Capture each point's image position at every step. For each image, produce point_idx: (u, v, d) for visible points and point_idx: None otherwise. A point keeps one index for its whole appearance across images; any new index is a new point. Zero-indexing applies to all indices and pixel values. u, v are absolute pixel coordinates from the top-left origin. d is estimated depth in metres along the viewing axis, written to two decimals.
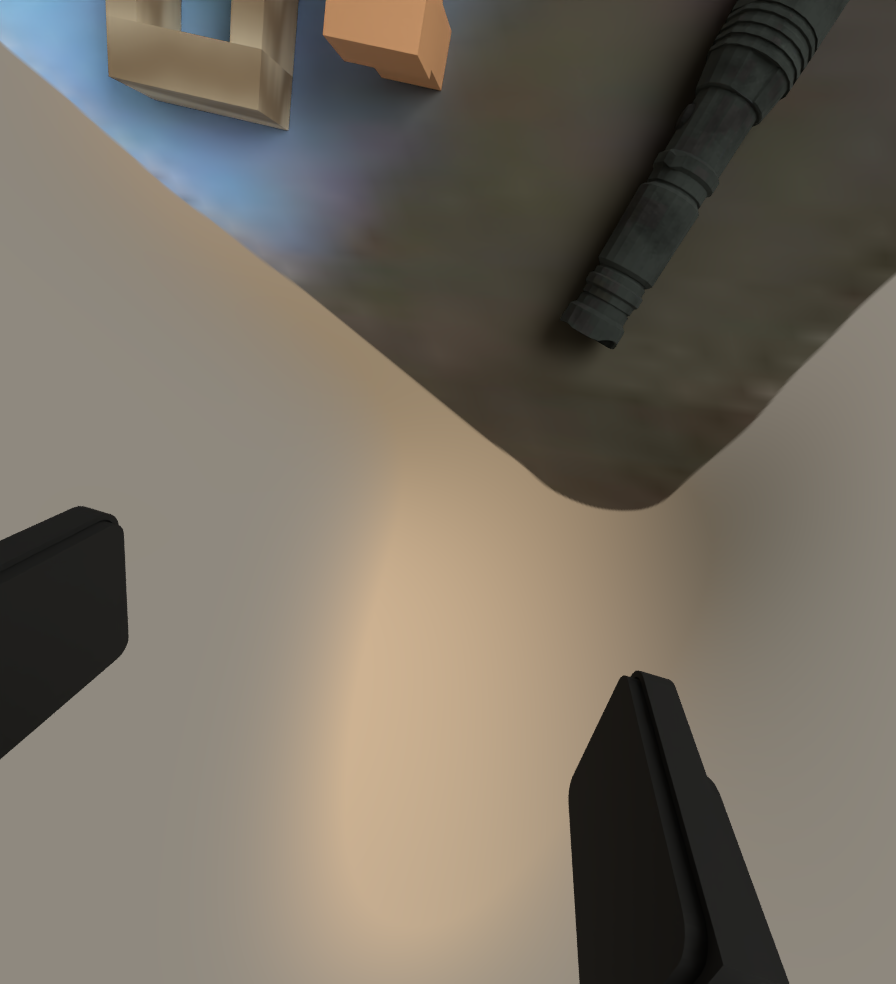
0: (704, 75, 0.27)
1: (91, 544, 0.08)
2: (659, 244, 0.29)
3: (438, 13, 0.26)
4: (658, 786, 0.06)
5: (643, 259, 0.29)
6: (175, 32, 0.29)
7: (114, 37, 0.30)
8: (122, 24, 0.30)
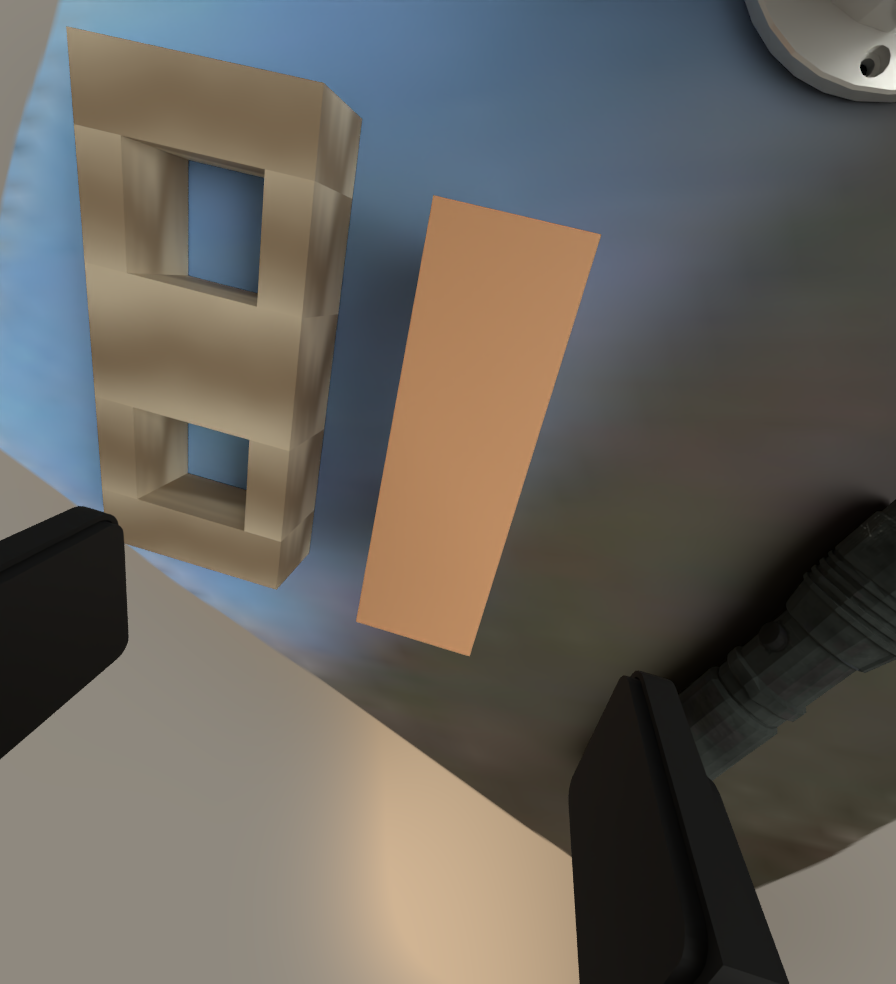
0: (802, 611, 0.23)
1: (91, 544, 0.08)
2: (730, 761, 0.25)
3: None
4: (658, 786, 0.06)
5: (709, 771, 0.25)
6: (181, 514, 0.25)
7: (112, 508, 0.26)
8: (120, 499, 0.26)
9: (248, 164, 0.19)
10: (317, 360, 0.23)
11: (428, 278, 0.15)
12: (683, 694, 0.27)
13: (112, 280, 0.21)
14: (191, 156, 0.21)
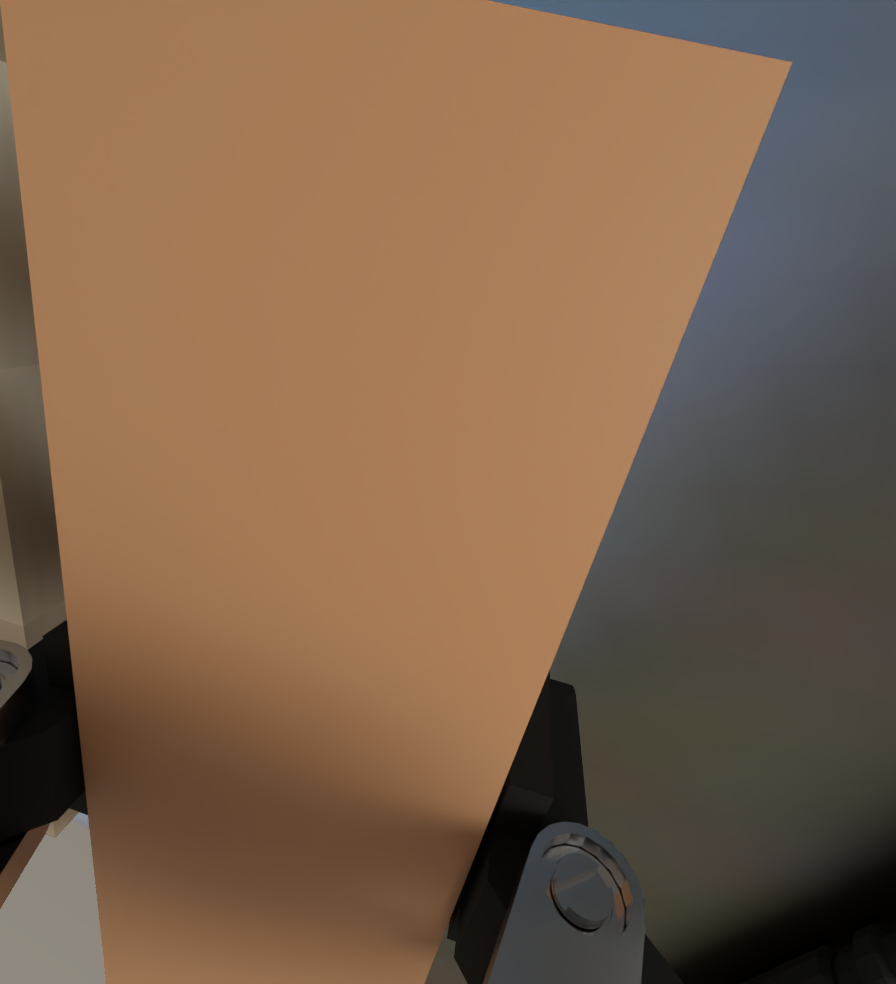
0: None
1: None
2: None
3: None
4: None
5: None
6: None
7: None
8: None
9: None
10: None
11: (65, 284, 0.04)
12: None
13: None
14: None
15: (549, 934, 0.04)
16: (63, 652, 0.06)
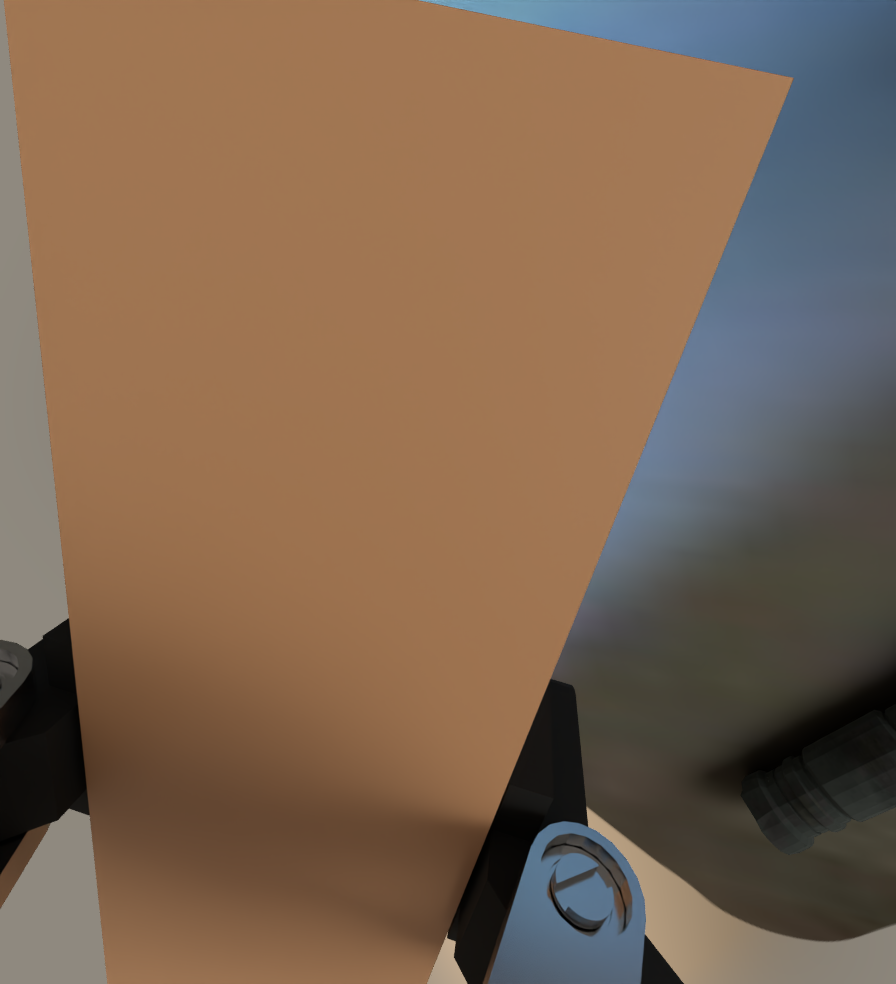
0: None
1: None
2: (893, 805, 0.26)
3: None
4: None
5: (870, 812, 0.26)
6: None
7: None
8: None
9: None
10: None
11: (69, 294, 0.04)
12: (842, 734, 0.27)
13: None
14: None
15: (549, 934, 0.04)
16: (63, 652, 0.06)
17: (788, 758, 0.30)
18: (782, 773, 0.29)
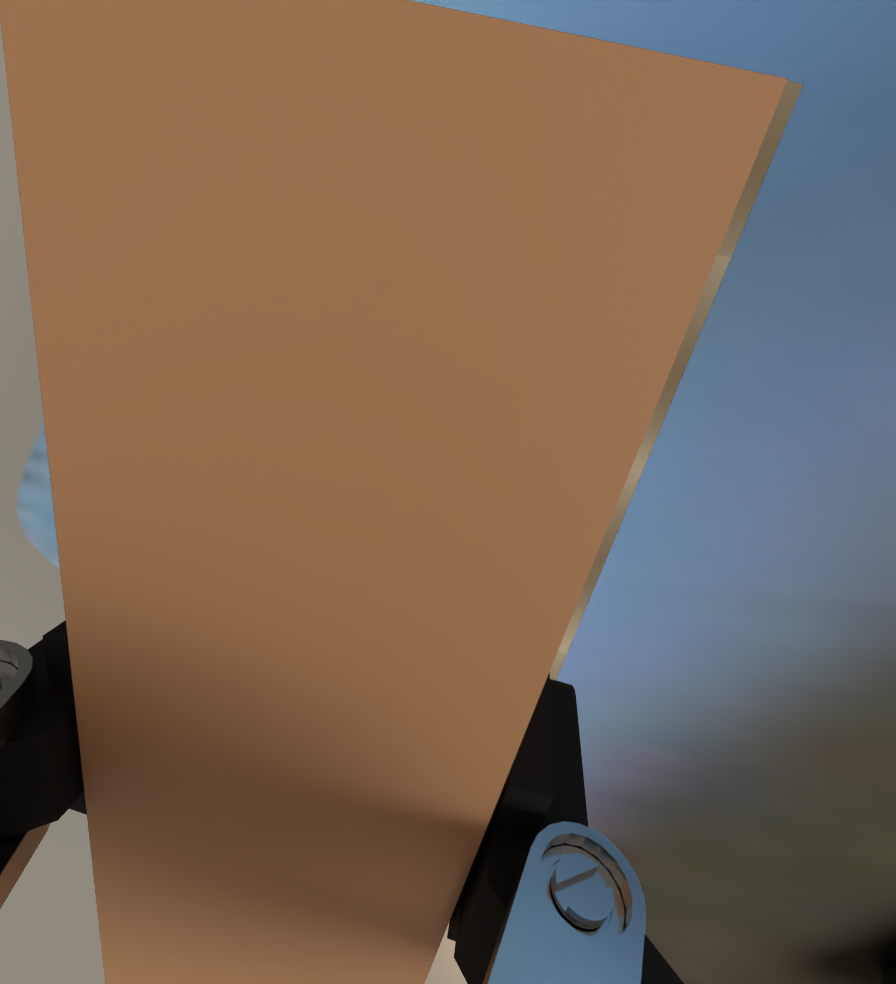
0: None
1: None
2: None
3: None
4: None
5: None
6: None
7: None
8: None
9: None
10: None
11: (65, 295, 0.04)
12: None
13: None
14: None
15: (549, 934, 0.04)
16: (63, 652, 0.06)
17: None
18: None
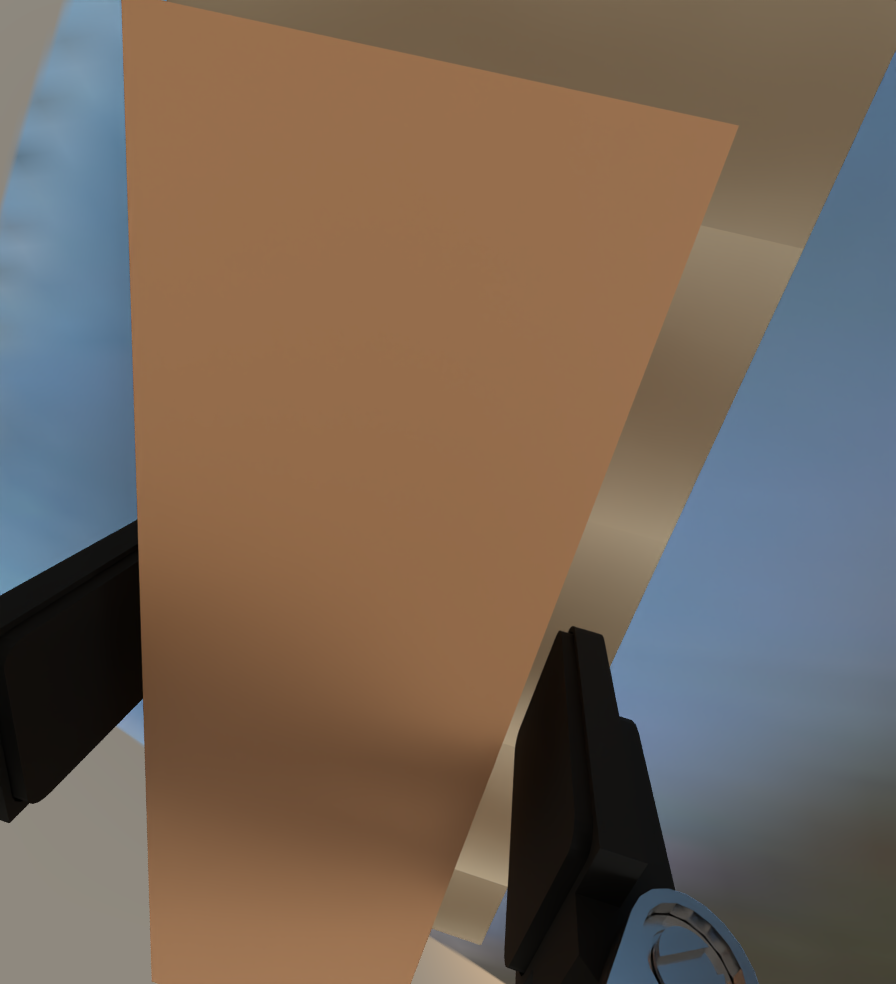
0: None
1: None
2: None
3: None
4: (573, 717, 0.07)
5: None
6: None
7: None
8: None
9: None
10: None
11: (160, 290, 0.05)
12: None
13: None
14: None
15: None
16: None
17: None
18: None
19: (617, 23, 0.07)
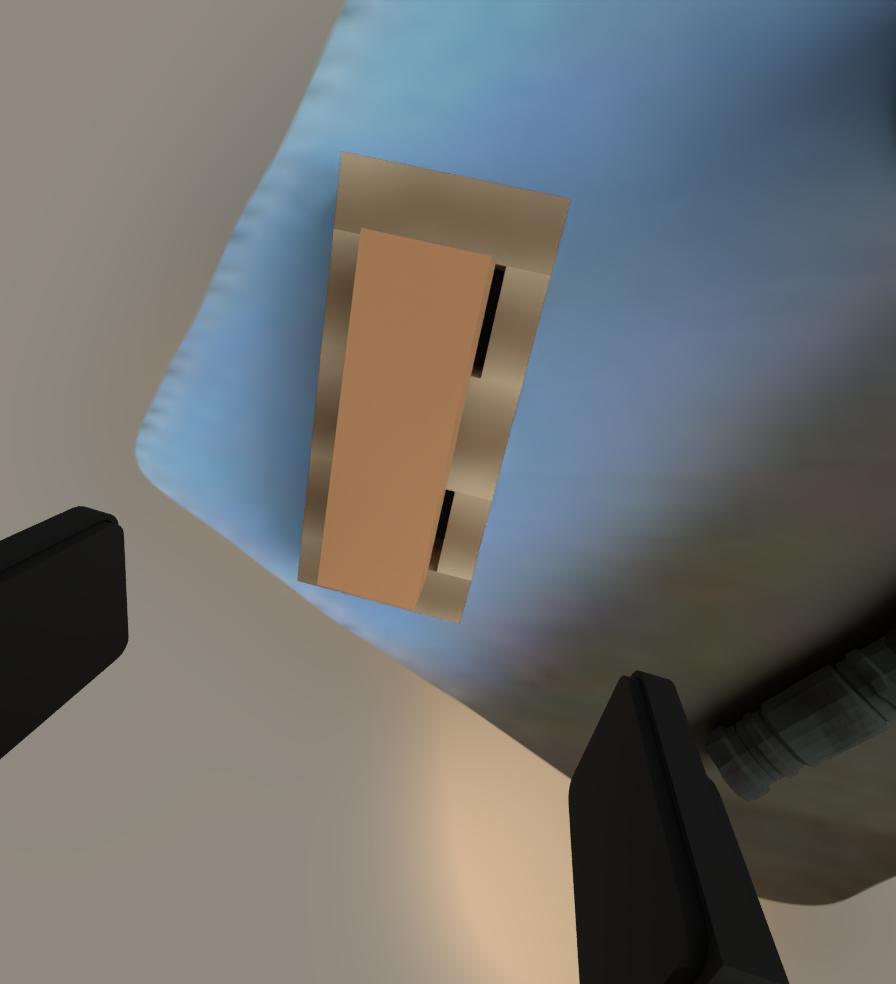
0: None
1: (91, 544, 0.08)
2: (841, 749, 0.28)
3: (434, 539, 0.25)
4: (658, 786, 0.06)
5: (820, 756, 0.28)
6: None
7: (308, 553, 0.29)
8: (319, 545, 0.28)
9: None
10: None
11: (361, 292, 0.19)
12: (797, 686, 0.30)
13: None
14: None
15: None
16: None
17: (748, 713, 0.32)
18: (743, 725, 0.31)
19: (484, 207, 0.21)
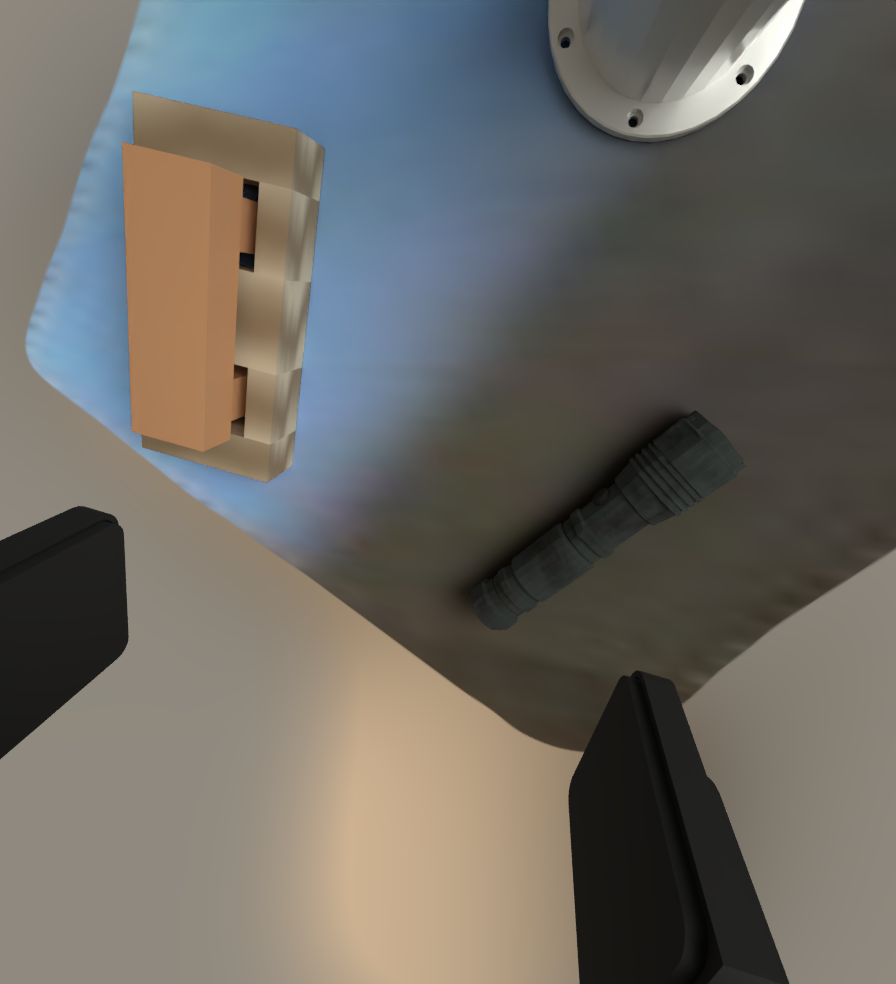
0: (621, 478, 0.33)
1: (91, 544, 0.08)
2: (555, 583, 0.35)
3: (228, 403, 0.33)
4: (658, 786, 0.06)
5: (540, 589, 0.35)
6: None
7: None
8: None
9: (248, 178, 0.29)
10: (295, 313, 0.33)
11: (129, 191, 0.26)
12: (536, 540, 0.37)
13: None
14: None
15: None
16: None
17: None
18: (498, 573, 0.38)
19: (237, 135, 0.28)
